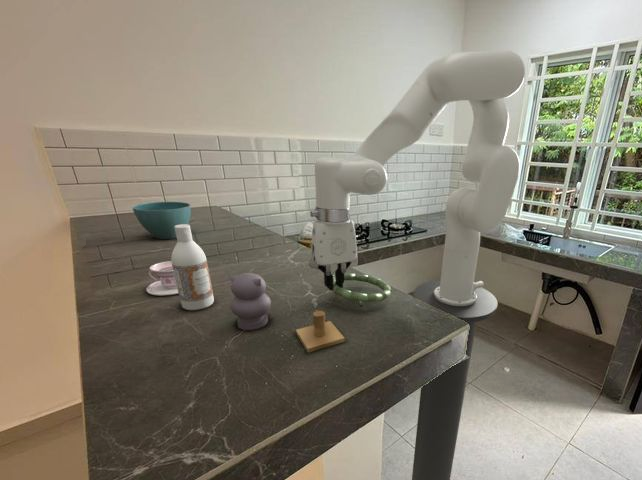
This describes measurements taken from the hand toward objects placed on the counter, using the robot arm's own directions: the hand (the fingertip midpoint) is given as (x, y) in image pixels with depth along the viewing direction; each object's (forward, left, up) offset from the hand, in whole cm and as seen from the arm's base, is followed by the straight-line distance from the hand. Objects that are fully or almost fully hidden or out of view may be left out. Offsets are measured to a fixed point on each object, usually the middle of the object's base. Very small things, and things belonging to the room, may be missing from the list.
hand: (334, 286), depth 81 cm
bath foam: (+29, -16, -6) cm, 34 cm away
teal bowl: (+35, -84, -6) cm, 91 cm away
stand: (+8, +12, -5) cm, 16 cm away
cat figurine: (+19, -1, -6) cm, 20 cm away
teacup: (+34, -30, -6) cm, 46 cm away
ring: (-7, 0, -1) cm, 7 cm away
